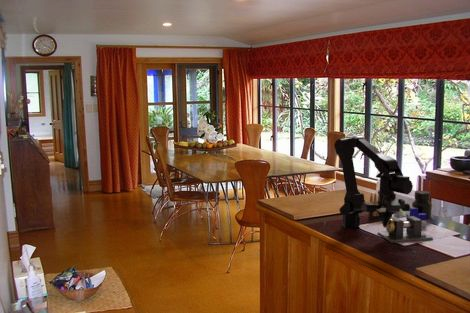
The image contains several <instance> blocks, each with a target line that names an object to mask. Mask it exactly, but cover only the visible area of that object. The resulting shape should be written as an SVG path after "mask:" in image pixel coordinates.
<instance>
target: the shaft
mask: <svg viewBox="0 0 470 313" xmlns="http://www.w3.org/2000/svg"><path fill="white" fill-rule="evenodd" d="M427 227H428V222H427V220H426V221H422V228H427ZM407 228H413V222H407V221H404V227H403V229H407ZM385 229H386V230H385V231H387V232H388V233H394V232H395V229H396V225H395V221H394V220H393V219H389V221H388V223H387V225H386V227H385Z"/></svg>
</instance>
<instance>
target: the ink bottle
mask: <svg viewBox="0 0 470 313" xmlns="http://www.w3.org/2000/svg"><path fill="white" fill-rule="evenodd" d="M411 208H417V209H418V214H426V220H428V219H431V217H432V208H433V204H432V202H431V192H430V191H427V190H416V191H414V200H413V201H412V202H411Z"/></svg>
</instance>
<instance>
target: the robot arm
mask: <svg viewBox="0 0 470 313" xmlns="http://www.w3.org/2000/svg"><path fill="white" fill-rule="evenodd" d="M333 146H334V150H335V153H336V156H338V159H340V163H341V168H342V174H343V178H344V185H345V191H346V192H345V194H344V197H343V202H344V204H343V205H342V206H341V207H340V208H339V209H338V210H339V214H341V215H342V223H341V224H340V225H341V227H343V228H344V229H345V230H353V229H354V230H358V229H361V225H360V223H361V217H360V214H362V213H363V211H365V212H366V213H369V212H375V211H376V212H378V214H379V216H380V221H381V224H382V227H383V228H384V229H386V225H387V223H388V221H389V219H390V217H391V216H392V217H393V215H394V214H396V213H398V212H400V210H401V211H402V212H410V208H411V205H410V204H409V203H407V202H406V200H405V198H398V199H397V196H396V193H400V194H404V195H410V193H412V191H413V189H414V188H413V187H414V184H413V182H412V180H411V179H410V176H407V175H406V176H404V173H403V172H402V170H401V168H400V166H399V164H398V161H397V160H396V159H395V158H393V157H391V156H390V155H386V154H385V153H382V152H381V151H379V150H378V149H377V147H375V146H374V145H373V144H372V143H370V142H369V141H367V140H366V138H365V137H364V136H361V135H360V136H354V137H349V138H338V139H336V141H335V143H334V144H333ZM355 148H356V149H358V150H360V152H361V153H362V154H364V155H365V156H366V157H367V158H368V159H369V160H371V161H372V162H373V163H374V168H376V170H377V171H378V174H376V175H375V178H379V190H378V191H377V194H379V201H378V200H377V203H378V204H379V205H375V204H373V203H371V202H370V201H369V202H366V201H365V200H366V199H365V195H364V193H362V192H360V191H359V188H358V184H357V178H356V177H357V176H356V171H355V166H354V165H355V164H354V158H353V156H354V155H355Z"/></svg>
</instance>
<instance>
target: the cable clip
mask: <svg viewBox="0 0 470 313" xmlns="http://www.w3.org/2000/svg"><path fill="white" fill-rule="evenodd" d="M405 216H406V218H405V220H406V219H407V217H410V216H414V217H416V218H418V219H420V220H422V221H426V222H427V219H426V214H418V209H417V208H412V207H410V211H409V213H406V214H405Z"/></svg>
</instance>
